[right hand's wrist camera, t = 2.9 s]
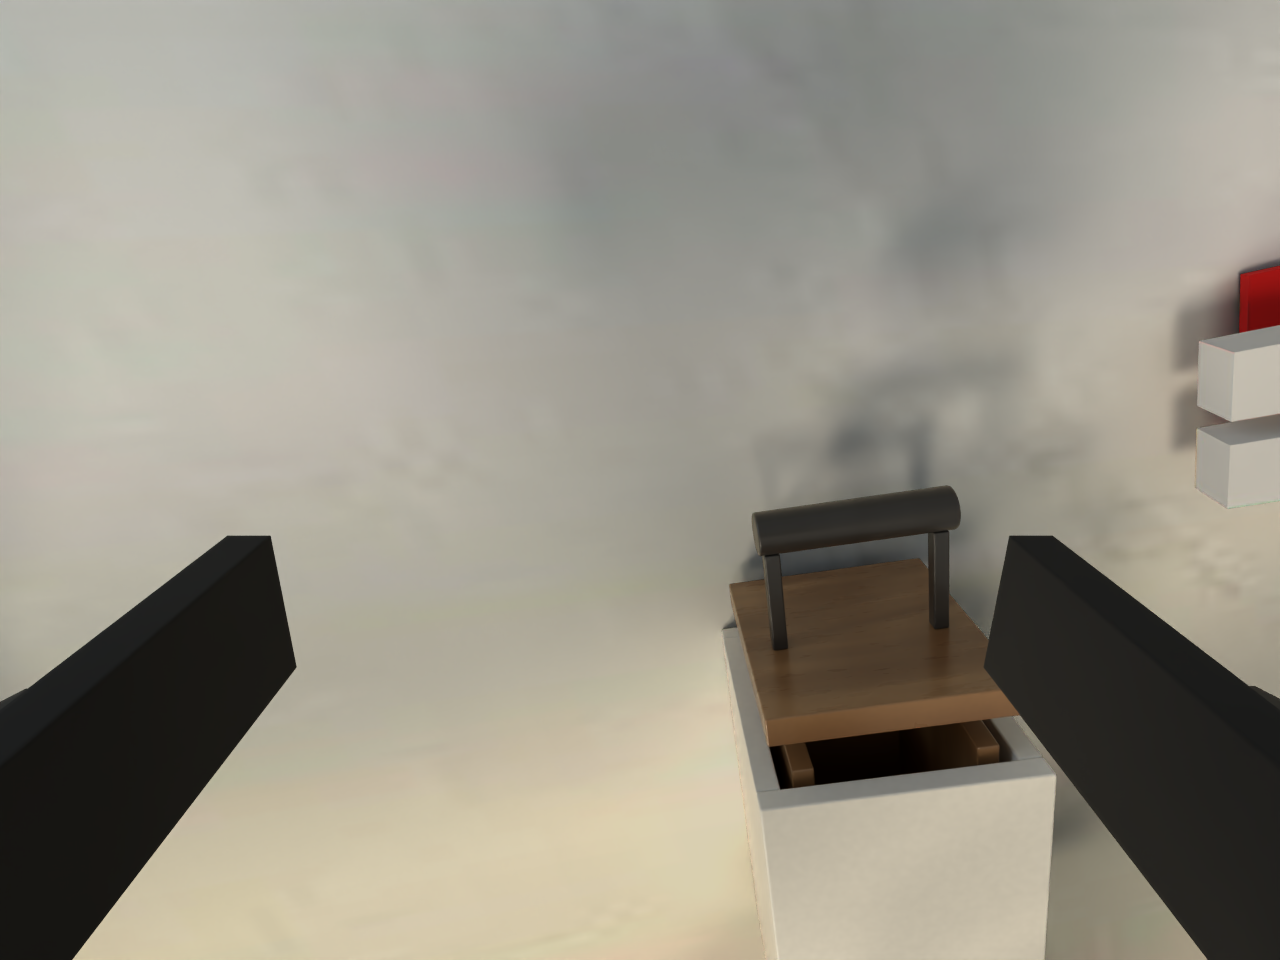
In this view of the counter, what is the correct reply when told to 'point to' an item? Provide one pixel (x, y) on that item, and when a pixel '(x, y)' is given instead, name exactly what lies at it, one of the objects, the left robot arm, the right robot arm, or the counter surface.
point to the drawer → (865, 647)
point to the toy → (1243, 400)
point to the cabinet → (897, 851)
